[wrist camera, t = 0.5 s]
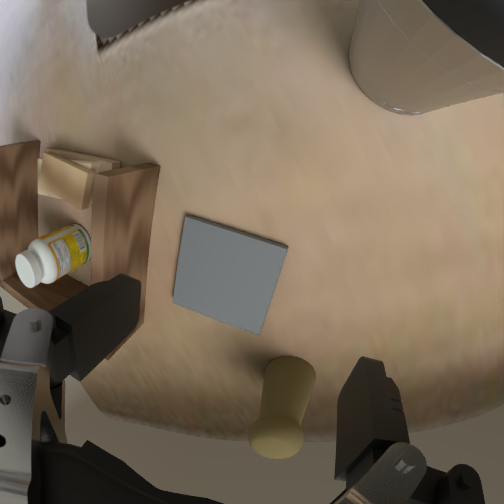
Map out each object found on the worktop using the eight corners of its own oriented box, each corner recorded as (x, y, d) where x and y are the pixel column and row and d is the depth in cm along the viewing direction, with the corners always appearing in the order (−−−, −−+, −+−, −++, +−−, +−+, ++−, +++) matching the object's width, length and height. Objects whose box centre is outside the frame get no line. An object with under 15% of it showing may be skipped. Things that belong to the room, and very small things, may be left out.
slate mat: (188, 214, 28) (185, 216, 28) (288, 246, 27) (287, 249, 26) (175, 299, 32) (172, 302, 32) (260, 330, 31) (259, 335, 30)
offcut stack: (54, 145, 30) (29, 149, 26) (121, 159, 28) (95, 163, 24) (51, 188, 32) (28, 194, 28) (115, 209, 30) (91, 219, 27)
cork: (254, 367, 33) (227, 440, 23) (298, 348, 31) (281, 428, 21) (283, 397, 34) (264, 469, 24) (325, 382, 32) (317, 459, 22)
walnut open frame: (34, 140, 30) (-11, 148, 23) (160, 165, 27) (108, 176, 20) (35, 265, 38) (-1, 285, 31) (143, 322, 35) (108, 360, 28)
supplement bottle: (96, 234, 32) (38, 264, 24) (90, 269, 35) (38, 303, 26) (68, 215, 33) (11, 239, 24) (64, 250, 35) (12, 277, 26)
